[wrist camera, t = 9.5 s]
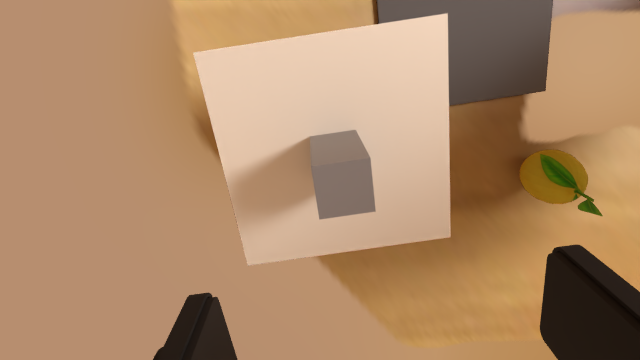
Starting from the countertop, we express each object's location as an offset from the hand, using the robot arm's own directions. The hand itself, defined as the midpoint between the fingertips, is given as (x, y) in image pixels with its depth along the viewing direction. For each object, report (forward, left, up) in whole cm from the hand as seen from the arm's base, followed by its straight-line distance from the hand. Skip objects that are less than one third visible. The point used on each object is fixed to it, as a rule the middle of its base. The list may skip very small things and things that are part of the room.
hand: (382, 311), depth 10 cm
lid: (0, 0, -17) cm, 17 cm away
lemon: (-23, +10, -31) cm, 40 cm away
